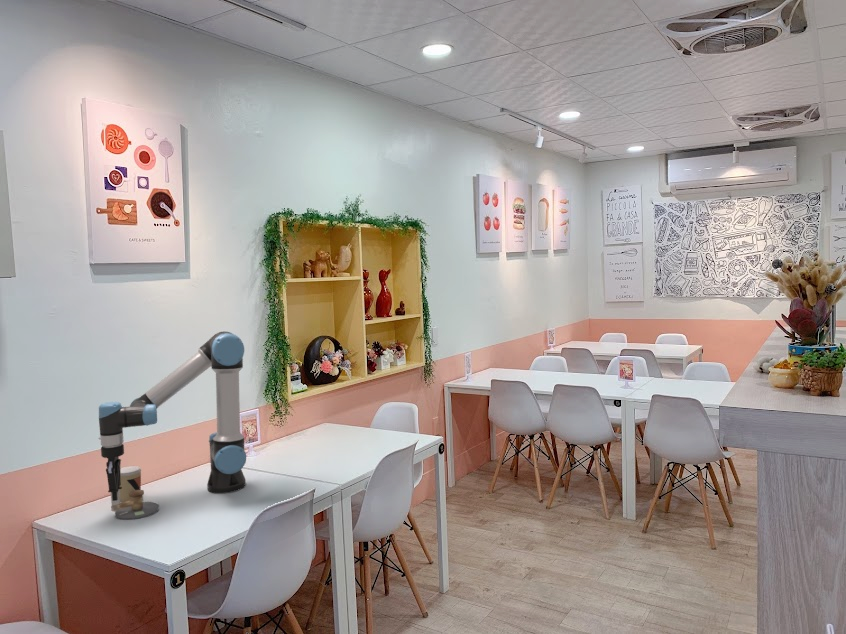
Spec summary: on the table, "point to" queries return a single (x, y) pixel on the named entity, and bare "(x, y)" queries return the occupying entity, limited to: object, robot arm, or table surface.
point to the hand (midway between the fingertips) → (116, 507)
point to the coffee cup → (129, 481)
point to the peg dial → (131, 501)
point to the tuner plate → (137, 511)
